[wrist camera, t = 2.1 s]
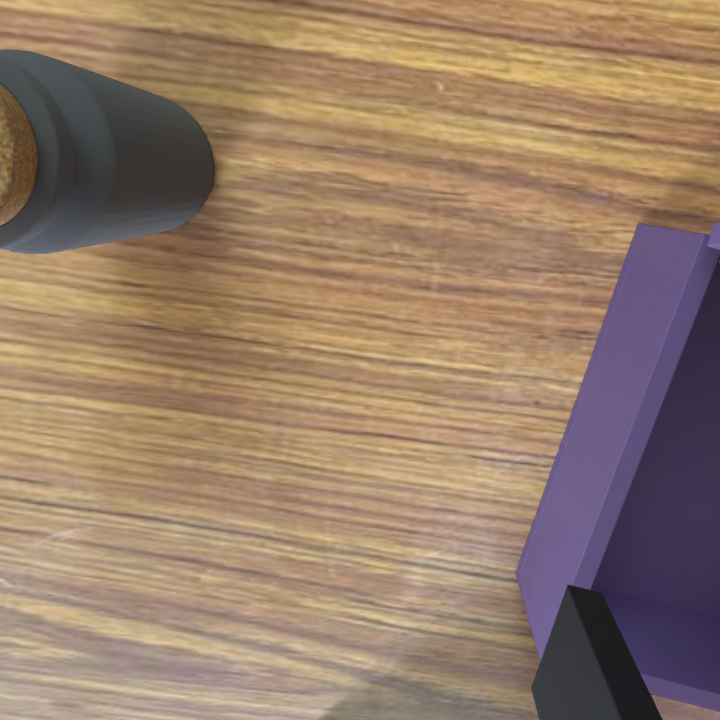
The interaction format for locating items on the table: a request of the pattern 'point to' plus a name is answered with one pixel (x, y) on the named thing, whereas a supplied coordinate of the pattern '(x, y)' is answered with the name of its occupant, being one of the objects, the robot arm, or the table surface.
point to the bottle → (91, 158)
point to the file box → (644, 473)
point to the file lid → (715, 237)
